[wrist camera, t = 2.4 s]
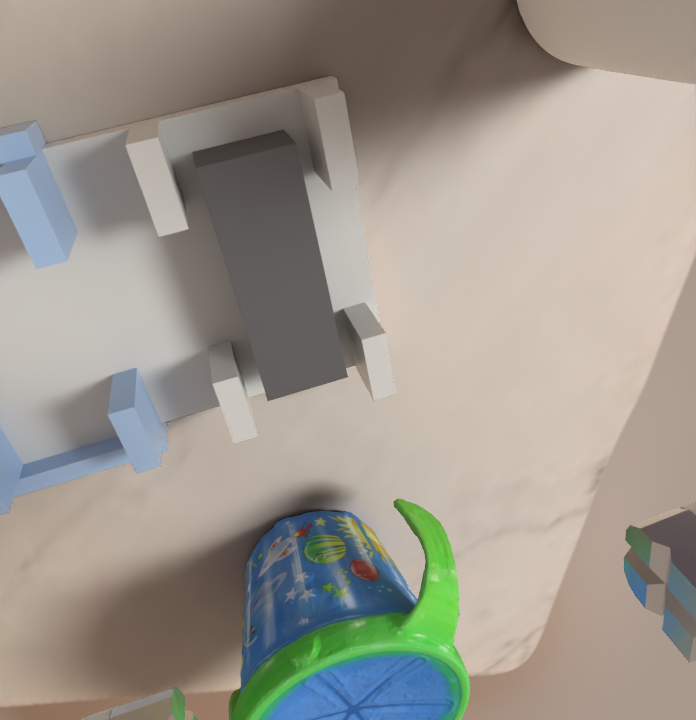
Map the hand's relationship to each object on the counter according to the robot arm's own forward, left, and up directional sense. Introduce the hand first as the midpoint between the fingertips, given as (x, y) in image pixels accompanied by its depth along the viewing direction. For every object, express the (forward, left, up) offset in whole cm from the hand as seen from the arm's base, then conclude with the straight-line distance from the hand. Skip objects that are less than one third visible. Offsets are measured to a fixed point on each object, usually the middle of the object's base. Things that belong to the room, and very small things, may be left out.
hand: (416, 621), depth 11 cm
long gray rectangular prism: (0, 0, -17) cm, 17 cm away
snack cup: (+18, -2, -18) cm, 26 cm away
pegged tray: (0, -5, -18) cm, 19 cm away
